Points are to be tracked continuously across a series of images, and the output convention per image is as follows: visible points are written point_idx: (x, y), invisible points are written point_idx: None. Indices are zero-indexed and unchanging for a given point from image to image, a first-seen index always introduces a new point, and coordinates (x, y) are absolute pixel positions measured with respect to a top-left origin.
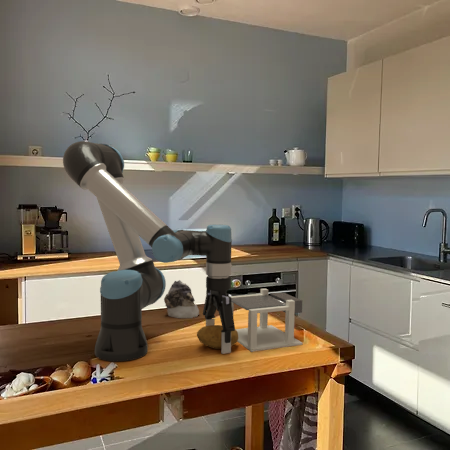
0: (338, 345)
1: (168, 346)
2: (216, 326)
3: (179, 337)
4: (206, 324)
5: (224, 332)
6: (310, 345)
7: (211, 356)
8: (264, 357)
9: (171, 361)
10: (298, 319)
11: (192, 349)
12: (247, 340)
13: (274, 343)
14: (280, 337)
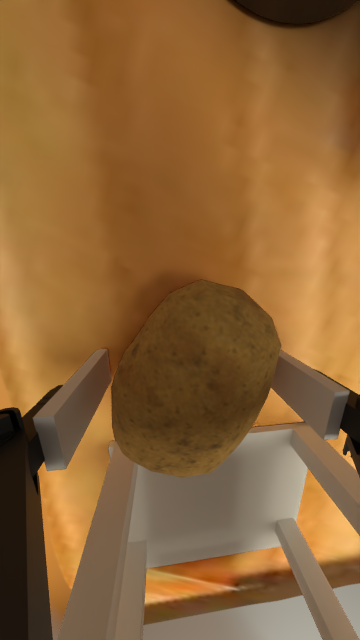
0: None
1: (274, 168)
2: (193, 413)
3: (348, 257)
4: (311, 375)
5: (39, 425)
6: None
7: (100, 306)
8: None
9: (80, 102)
10: None
11: (199, 260)
12: None
13: (143, 516)
14: (186, 539)
